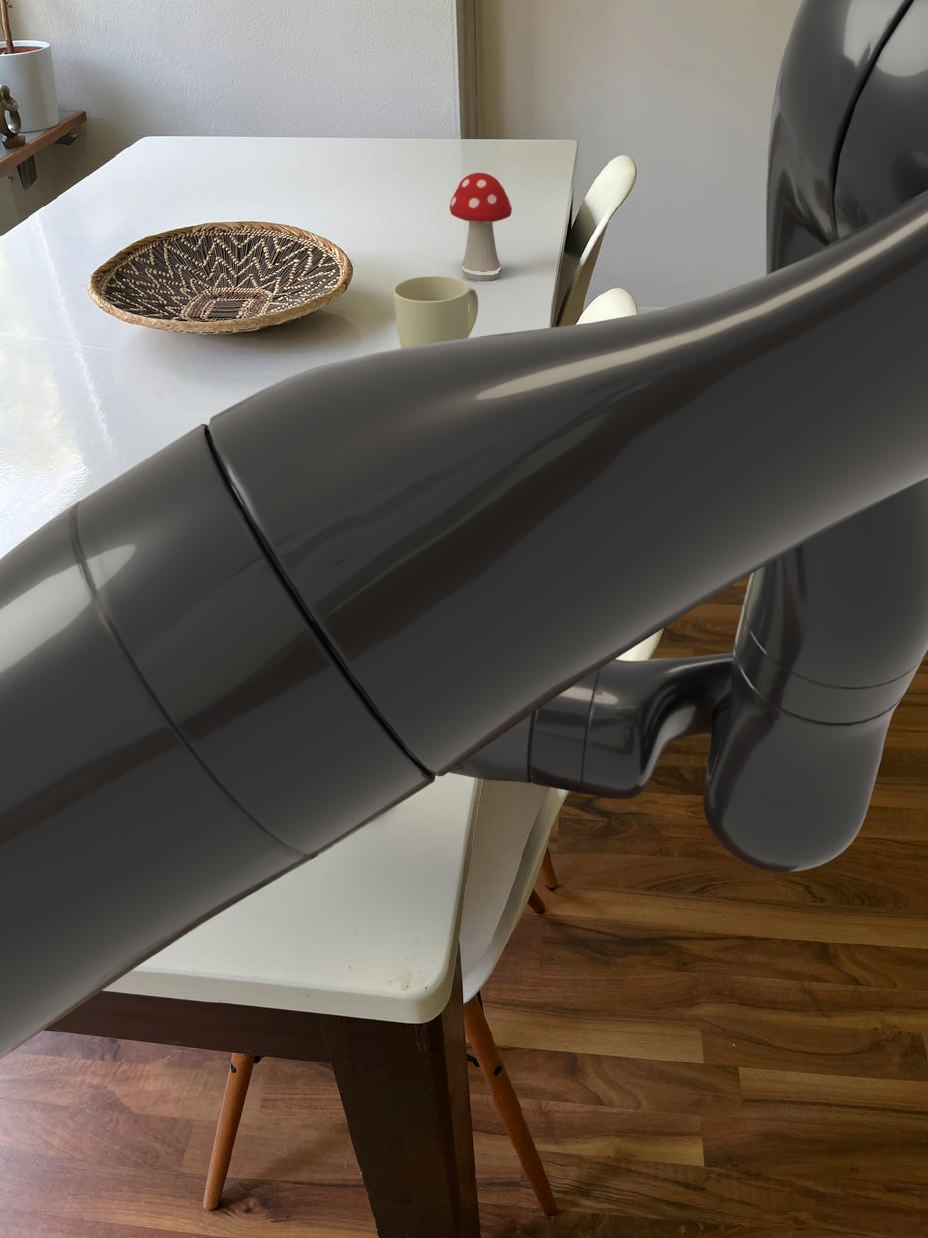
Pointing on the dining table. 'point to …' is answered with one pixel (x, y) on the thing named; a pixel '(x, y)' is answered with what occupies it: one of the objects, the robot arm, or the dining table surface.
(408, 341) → the mug
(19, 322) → the dining table surface
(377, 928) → the dining table surface
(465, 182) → the decorative mushroom
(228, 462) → the robot arm
